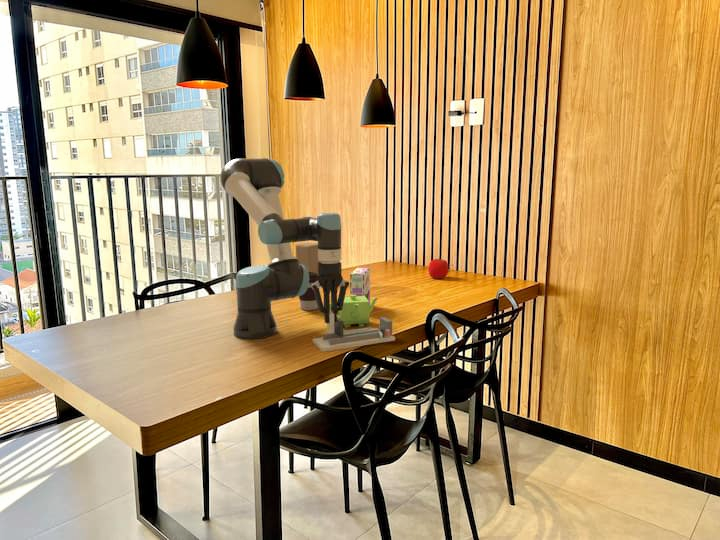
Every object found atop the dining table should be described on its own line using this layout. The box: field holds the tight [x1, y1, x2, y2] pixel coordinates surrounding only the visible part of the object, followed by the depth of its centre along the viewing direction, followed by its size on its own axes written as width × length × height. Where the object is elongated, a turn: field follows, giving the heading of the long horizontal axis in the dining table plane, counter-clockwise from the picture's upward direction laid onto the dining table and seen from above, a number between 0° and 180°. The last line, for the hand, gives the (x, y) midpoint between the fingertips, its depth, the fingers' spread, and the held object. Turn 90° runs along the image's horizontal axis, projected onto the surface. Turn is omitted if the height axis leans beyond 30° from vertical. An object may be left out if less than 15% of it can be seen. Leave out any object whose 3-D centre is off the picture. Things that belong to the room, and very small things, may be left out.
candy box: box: [349, 267, 371, 303], centre depth 213 cm, size 14×6×16 cm, turn 168°
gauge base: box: [312, 316, 396, 352], centre depth 174 cm, size 26×10×6 cm, turn 114°
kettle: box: [330, 295, 381, 328], centre depth 193 cm, size 15×14×11 cm
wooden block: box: [295, 241, 320, 275], centre depth 266 cm, size 10×10×20 cm
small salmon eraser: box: [385, 329, 390, 337], centre depth 174 cm, size 1×1×2 cm
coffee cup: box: [298, 272, 321, 311], centre depth 215 cm, size 10×10×15 cm
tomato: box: [428, 258, 450, 280], centre depth 274 cm, size 10×11×11 cm
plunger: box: [334, 316, 385, 338], centre depth 173 cm, size 16×8×7 cm, turn 114°
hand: (330, 332), depth 170 cm, fingers closed
